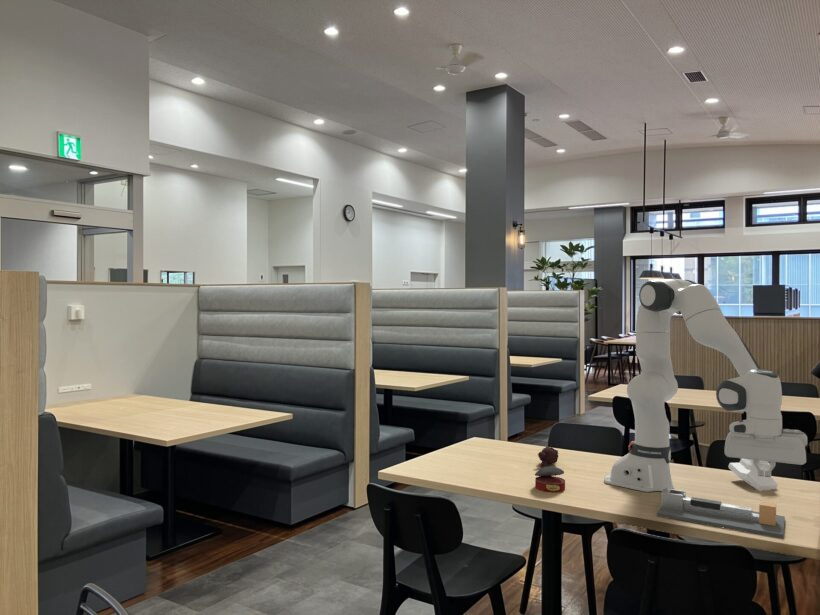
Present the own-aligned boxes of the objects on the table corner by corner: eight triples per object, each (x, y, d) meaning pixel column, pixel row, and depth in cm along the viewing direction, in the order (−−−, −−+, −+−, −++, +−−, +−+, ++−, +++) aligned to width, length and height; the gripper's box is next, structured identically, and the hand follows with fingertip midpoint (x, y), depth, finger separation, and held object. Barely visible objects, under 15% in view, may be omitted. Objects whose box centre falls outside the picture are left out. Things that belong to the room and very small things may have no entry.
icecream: (547, 443, 257) (529, 452, 245) (563, 441, 253) (546, 450, 241) (551, 460, 257) (534, 470, 245) (568, 458, 252) (551, 469, 240)
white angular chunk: (761, 484, 231) (774, 447, 229) (777, 500, 216) (791, 461, 214) (725, 473, 233) (738, 437, 231) (739, 488, 218) (753, 449, 216)
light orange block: (759, 523, 180) (759, 504, 180) (760, 518, 185) (760, 500, 185) (775, 525, 178) (775, 507, 178) (776, 520, 183) (776, 502, 183)
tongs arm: (673, 502, 193) (673, 496, 193) (674, 500, 196) (675, 494, 196) (751, 515, 182) (751, 509, 182) (752, 512, 185) (752, 506, 185)
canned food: (536, 503, 214) (523, 475, 216) (549, 493, 222) (536, 466, 224) (564, 494, 207) (550, 465, 209) (576, 484, 215) (563, 456, 217)
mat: (657, 516, 188) (657, 512, 188) (667, 500, 204) (668, 497, 204) (783, 538, 172) (783, 534, 172) (784, 519, 187) (784, 516, 187)
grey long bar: (661, 507, 194) (661, 492, 194) (664, 502, 198) (664, 487, 198) (775, 526, 178) (775, 510, 178) (776, 520, 183) (776, 505, 183)
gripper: (807, 429, 179) (807, 478, 179) (726, 422, 190) (726, 469, 189) (807, 432, 173) (807, 484, 173) (723, 425, 184) (723, 473, 184)
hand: (764, 476), depth 181 cm, fingers closed
